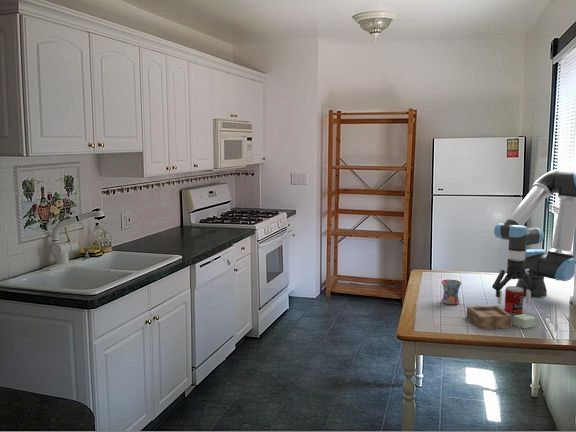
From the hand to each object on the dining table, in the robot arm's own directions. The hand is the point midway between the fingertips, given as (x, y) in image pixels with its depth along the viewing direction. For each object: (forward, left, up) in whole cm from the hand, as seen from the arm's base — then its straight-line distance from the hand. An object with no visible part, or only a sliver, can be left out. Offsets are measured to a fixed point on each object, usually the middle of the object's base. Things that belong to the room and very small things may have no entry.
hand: (513, 303), depth 254 cm
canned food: (0, 0, -4) cm, 4 cm away
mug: (+24, -15, -4) cm, 28 cm away
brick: (+4, +19, -4) cm, 20 cm away
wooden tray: (+18, +15, -4) cm, 24 cm away
